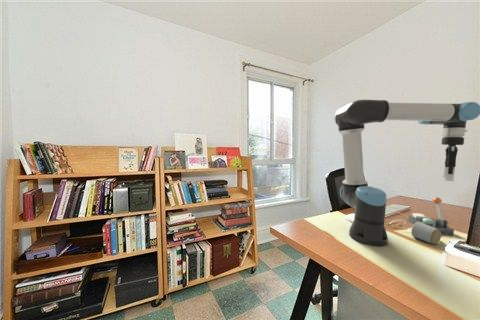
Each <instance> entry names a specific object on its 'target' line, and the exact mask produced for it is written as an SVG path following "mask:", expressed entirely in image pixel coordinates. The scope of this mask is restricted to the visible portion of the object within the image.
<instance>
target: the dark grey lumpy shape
mask: <svg viewBox="0 0 480 320" xmlns="http://www.w3.org/2000/svg"><path fill="white" fill-rule="evenodd" d="M425 217H426V218H428V219H432V220H434V221H433V225H429V226H431V227H434V228H436V229H438V230H439V231H440V232H441V235H446V234H448V235H449V236H454V234H455V229H454V228H452V227H450V226H449V224H448V223H449V220H448V219H447V220H446V219H444V218H443V221H441V220H439V218H438V219H437V218H436V219H435V218H433V217H429V216H425ZM408 222H410V223H411V224H413V225H414V224H415V223H416V222H421V223H423V219H418V218H415V217H414V216H413V215H408ZM444 222H445V224H444ZM426 225H427V224H426Z"/></svg>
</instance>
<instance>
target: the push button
mask: <svg viewBox="0 0 480 320" xmlns="http://www.w3.org/2000/svg"><path fill="white" fill-rule="evenodd" d="M433 221H434V220H432V219H428V218H423V223H424V224H427V225H433Z"/></svg>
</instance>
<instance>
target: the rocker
mask: <svg viewBox="0 0 480 320" xmlns="http://www.w3.org/2000/svg"><path fill="white" fill-rule="evenodd" d="M412 216H414V217H415V218H418V219H423V218H426V217H427V216H426V215H424V214H423V213H417V212H416V213H415V212H413V213H412Z"/></svg>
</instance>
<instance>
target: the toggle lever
mask: <svg viewBox="0 0 480 320" xmlns="http://www.w3.org/2000/svg"><path fill="white" fill-rule="evenodd" d="M432 203H434V204H435V208H436V213H437V217H438V220H441V221H443V219H444V217H443V212H442V208H441V207H442V206H441V204H442V199H441V198H440V197H437V196H436V197H433V198H432ZM444 224H445V222H444Z"/></svg>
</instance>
